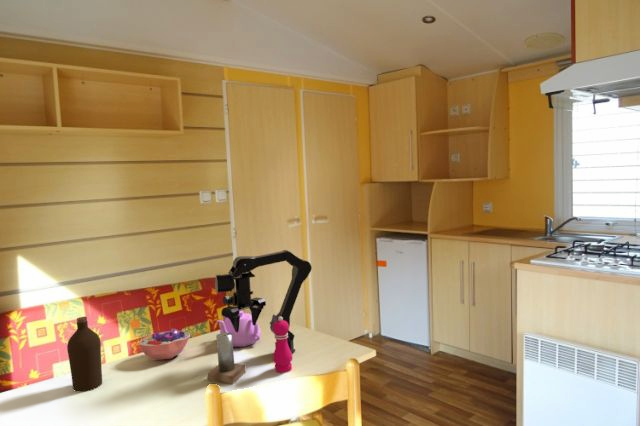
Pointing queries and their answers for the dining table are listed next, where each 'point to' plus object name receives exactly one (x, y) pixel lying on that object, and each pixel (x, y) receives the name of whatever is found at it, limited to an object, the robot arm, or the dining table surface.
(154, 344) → the cell model
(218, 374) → the walnut box
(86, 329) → the olive oil
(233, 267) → the robot arm
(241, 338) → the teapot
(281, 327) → the pepper mill
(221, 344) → the tea tin
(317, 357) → the dining table surface
